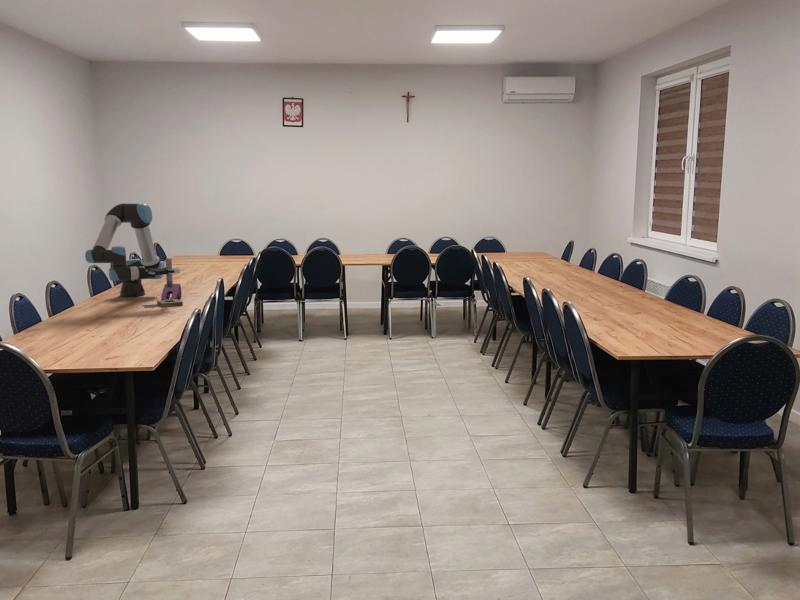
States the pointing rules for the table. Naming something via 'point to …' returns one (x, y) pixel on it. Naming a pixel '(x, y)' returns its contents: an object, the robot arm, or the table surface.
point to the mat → (150, 306)
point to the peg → (169, 277)
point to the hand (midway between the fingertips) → (178, 270)
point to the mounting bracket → (171, 292)
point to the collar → (170, 303)
